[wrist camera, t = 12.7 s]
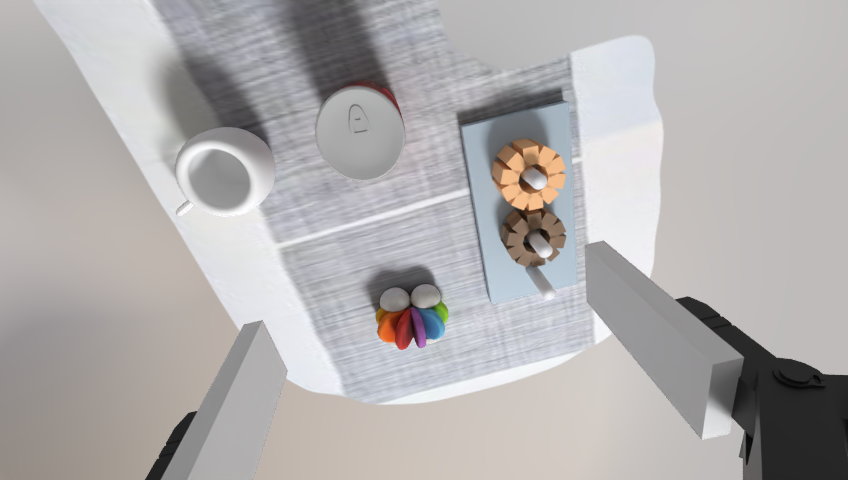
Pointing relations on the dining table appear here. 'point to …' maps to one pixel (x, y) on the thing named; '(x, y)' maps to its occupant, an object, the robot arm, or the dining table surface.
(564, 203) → the gear board
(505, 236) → the gear
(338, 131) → the canned food
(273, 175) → the mug
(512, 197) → the gear
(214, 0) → the dining table surface
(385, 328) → the multicolored petal toy
